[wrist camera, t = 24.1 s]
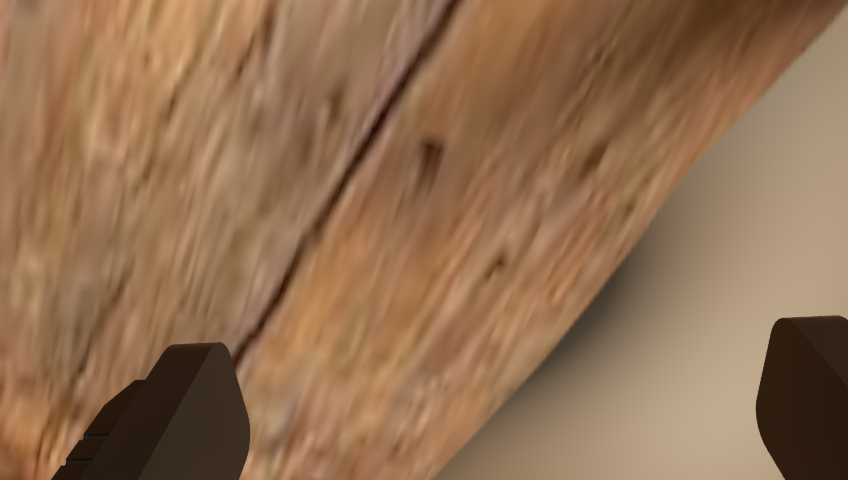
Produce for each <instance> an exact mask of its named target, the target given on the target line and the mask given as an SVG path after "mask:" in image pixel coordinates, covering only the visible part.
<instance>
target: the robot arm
mask: <svg viewBox="0 0 848 480" xmlns="http://www.w3.org/2000/svg"><path fill="white" fill-rule="evenodd" d="M756 418H757V424H758V428H759V432H760V435H761V438H762V440H763V443H764V445H765V446H766V448H767V450H768V452H769V453H770V455H771V457H772V458H773V460H774V462H775V463H776V465H777V467H778V468H779V470H780V472H781V473H782V475H783V477H784V478H785V480H848V320H847V319H846V318H844V317H842V316H817V317H816V316H814V317H792V318H781V319H779V320H777V321H776V322H775V324H774V326H773V328H772V331H771V335H770V340H769V344H768V349H767V353H766V358H765V363H764V367H763V372H762V377H761V381H760V386H759V391H758V396H757V400H756ZM83 435H84V439H83V440H79V441H78V443H77V444H76V446H75V447H74V448H73V450H72V451H71V452H70V454H69V455H68V457H67V458H66V464H65V466H60V468H59V469H58V471H57V472H56V473H55V475H54V476H53V478H52V479H51V480H239V478H240V475H241V472H242V470H243V467H244V464H245V462H246V459H247V455H248V451H249V444H250V423H249V418H248V414H247V410H246V407H245V404H244V400H243V397H242V393H241V390H240V387H239V383H238V380H237V376H236V373H235V370H234V366H233V363H232V359H231V356H230V353H229V350H228V349H227V347H226V346H225V345H224V344H223V343H221V342H218V343H196V344H175V345H171V346H169V347H168V348H167V349H166V350H165V351H164V352H163V354H162V355H161V357H160V358H159V360H158V361H157V363H156V364H155V366H154V367H153V369H152V370H151V372H150V373H149V375H148V376H147V378H146V379H145V380H135V381H134V382H132V383H131V384H130V385H129V386H127V387H126V388H125V389H124V390H122V391H121V392H120V393H119V394H118V395H116V396H115V397H114V398H113V399H111V400H110V401H109V402H108V403H106V404H105V405H104V406H103V408H102V409H101V411H100V412H99V413H98V415H97V416H96V418H95V419H94V420H93V422H92V423H91V425H90V426H89V427H88V429H87V430H86V432H85V433H84V434H83Z"/></svg>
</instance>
